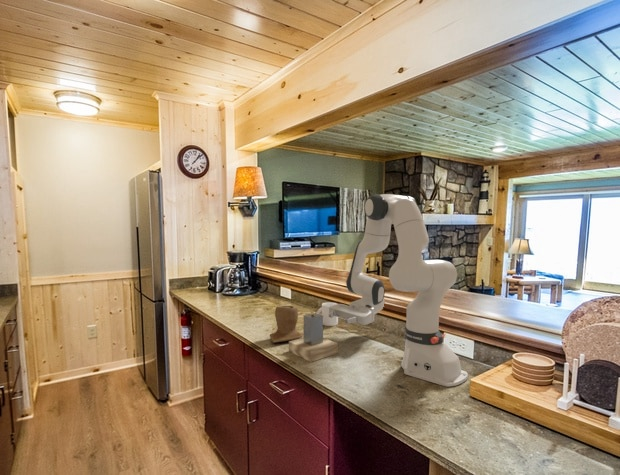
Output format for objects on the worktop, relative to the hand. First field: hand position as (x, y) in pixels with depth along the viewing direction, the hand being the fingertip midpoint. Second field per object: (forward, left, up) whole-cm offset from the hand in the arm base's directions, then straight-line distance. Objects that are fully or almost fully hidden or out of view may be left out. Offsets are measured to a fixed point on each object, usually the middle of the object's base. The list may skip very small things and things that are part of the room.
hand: (337, 318), depth 147 cm
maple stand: (+2, +12, -12) cm, 17 cm away
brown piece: (+22, +12, -12) cm, 28 cm away
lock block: (+1, +12, -8) cm, 15 cm away
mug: (+26, -17, -12) cm, 33 cm away
